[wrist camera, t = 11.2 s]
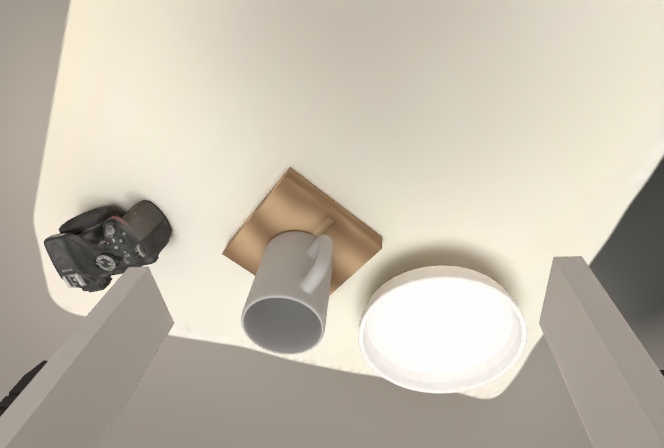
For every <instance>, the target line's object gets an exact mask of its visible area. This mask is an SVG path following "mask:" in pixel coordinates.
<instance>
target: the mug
mask: <svg viewBox="0 0 664 448" xmlns="http://www.w3.org/2000/svg"><path fill="white" fill-rule="evenodd" d="M332 254H333V241H332V239H331V238H330V237H329V236H327V235H321V236H319V237H318V238H317V237H316V236H314V235H311V234H309V233H305V232H300V231H291V232H285V233H282V234H280V235H277V236H276V237H274V238H273V239H272V240H271V241H270V242H269V243H268V244H267V246H266V248H265V250H264V253H263V255H262V259H261V262H260V265H259V268H258V271H257V273H256V276H255V279H254V282H253V284H252V287H251V290H250V292H249V295H248V298H247V301H246V303H245V306H244V309H243V312H242V317H241V322H242V327H243V330H244V332H245V333H246V335H247V336H248V337H249V339H250V340H251V341H253V342H254V343H255V344H256V345H258V346H259V347H261V348H263V349H265V350H268V351H271V352H274V353H279V354H298V353H302V352H305V351H308V350H310V349H312V348H313V347H315V346H316V345H317V344H318V343H319V342H320V340H321V339H322V337H323V334H324V331H325V325H326V316H327V308H328V299H329V291H330V282H331V275H332V269H333V258H332Z"/></svg>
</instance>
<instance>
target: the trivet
mask: <svg viewBox="0 0 664 448" xmlns="http://www.w3.org/2000/svg"><path fill="white" fill-rule="evenodd" d="M291 231H300V232H305V233H309V234H311V235H314V236H316V237H317V238H318V237H319V236H321V235H327V236H329V237H330V238H331V239H332V241H333V254H332V258H333V269H332V275H331V282H330V291H329V295H330V294H332V293H333V292H334V291H335V290H336V289H337V288H338V287H339V286H341V285H342V284H343V283H344V282H345V281H346V280H347V279H348V278H349V277H351V276H352V275H353V274H354V273H355V272H356V271H357V270H358V269H360V268H361V267H362V266H363V265H364V264H365V263H366V262H367V261H369V260H370V259H371V258H372V257H373V256H374V255H375V254H376V253H377V252H379V251H380V250H381V249H382V237H381V236H380V235H379V234H377V233H376V232H375V231H374V230H372V229H371V228H370V227H368V226H367V225H366V224H364V223H363V222H362V221H360V220H359V219H358V218H356V217H355V216H354V215H352V214H351V213H350V212H348V211H347V210H346V209H344V208H343V207H342V206H341V205H339V204H338V203H337V202H335V201H334V200H333V199H331V198H330V197H329V196H327V195H326V194H325V193H323V192H322V191H321V190H319V189H318V188H317V187H315V186H314V185H313V184H312V183H310V182H309V181H308V180H306V179H305V178H304V177H302V176H301V175H300V174H298V173H297V172H296V171H294V170H293V169H292V168H289V169H288V171H287V172H286V173H285V174H284V175H283V177H282V178H281V179H280V180H279V182H278V183H277V184H276V185H275V186H274V188H273V189H272V190H271V191H270V193H269V194H268V195H267V196H266V197H265V199H264V200H263V201H262V202H261V204H260V205H259V206H258V207H257V208H256V210H255V211H254V212H253V213H252V215H251V216H250V217H249V218H248V219H247V221H246V222H245V223H244V224H243V226H242V227H241V228H240V229H239V230H238V232H237V233H236V234H235V235H234V237H233V238H232V239H231V240H230V241H229V243H228V244H227V246H226V248H225V250H224V251H223V253H222V254H223V255H225V256H226V257H228V258H229V259H231V260H232V261H234V262H235V263H237V264H238V265H240V266H241V267H243V268H244V269H246V270H247V271H249V272H251V273H252V274H254V275H255V276H256V273H257V271H258V268H259V265H260V262H261V259H262V255H263V253H264V250H265V248H266V246H267V244H268V243H269V242H270V241H271V240H272V239H273V238H274V237H276V236H277V235H280V234H282V233H285V232H291Z"/></svg>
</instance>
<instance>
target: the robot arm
mask: <svg viewBox="0 0 664 448" xmlns="http://www.w3.org/2000/svg"><path fill="white" fill-rule="evenodd" d="M173 324H174V322H173V320H172V317H171V315H170V313H169V311H168V309H167V306H166V304H165V302H164V300H163V298H162V295H161V293H160V291H159V289H158V287H157V284H156V282H155V280H154V278H153V276H152V274H151V271H150V269H149V267H128V268H127V270H126V271H125V272H124V273H123V274H122V275H121V277H120V278H119V279H118V280H117V281H116V282H115V284H114V285H113V286H112V287H111V288H110V289H109V291H108V292H107V293H106V294H105V295H104V296H103V298H102V299H101V300H100V301H99V302H98V303H97V305H96V306H95V307H94V308H93V309H92V310H91V312H90V313H89V314H88V315H87V316H86V318H85V319H84V320H83V321H82V322H81V323H80V325H79V326H78V327H77V328H76V329H75V330H74V332H73V333H72V334H71V335H70V336H69V337H68V339H67V340H66V341H65V342H64V343H63V344H62V345H61V347H60V348H59V349H58V350H57V351H56V353H55V354H54V355H53V356H52V357H51V358H50V359H49V361H43V362H41V363H40V364H39V365H37V366H36V367H35V368H34V369H32V370H31V371H30V372H28V373H27V374H26V375H24V376H23V377H22V379H21V380H20V381H19V382H18V383H17V384H16V385H15V387H14V388H13V389H12V390H11V391H10V392H9V396H6V397H5V398H4V399H3V400H2V401H1V402H0V448H100V447H101V446H102V444H103V442H104V440H105V439H106V437H107V436H108V434H109V432H110V431H111V429H112V427H113V425H114V424H115V422H116V420H117V419H118V417H119V415H120V414H121V412H122V410H123V409H124V407H125V405H126V404H127V402H128V400H129V398H130V397H131V395H132V393H133V392H134V390H135V388H136V387H137V385H138V383H139V382H140V380H141V378H142V377H143V375H144V373H145V372H146V370H147V368H148V367H149V365H150V363H151V361H152V360H153V358H154V356H155V355H156V353H157V351H158V350H159V348H160V346H161V345H162V343H163V341H164V340H165V338H166V336H167V335H168V333H169V331H170V329H171V328H172V326H173ZM539 324H540V326H541V329H542V331H543V333H544V336H545V338H546V340H547V343H548V345H549V347H550V349H551V352H552V354H553V356H554V359H555V361H556V363H557V366H558V368H559V370H560V373H561V375H562V377H563V380H564V382H565V384H566V386H567V389H568V391H569V393H570V396H571V398H572V400H573V402H574V405H575V407H576V409H577V412H578V414H579V416H580V419H581V421H582V423H583V426H584V428H585V430H586V433H587V435H588V437H589V440H590V442H591V444H592V447H593V448H664V370H659V369H658V368H657V366H656V365H655V363H654V362H653V360H652V359H651V357H650V356H649V354H648V353H647V351H646V350H645V349H644V347H643V346H642V344H641V343H640V341H639V340H638V338H637V337H636V336H635V334H634V332H633V331H632V329H631V328H630V327H629V325H628V324H627V322H626V321H625V319H624V318H623V316H622V315H621V313H620V312H619V310H618V309H617V307H616V306H615V305H614V303H613V302H612V300H611V299H610V297H609V296H608V294H607V293H606V291H605V290H604V288H603V287H602V285H601V284H600V282H599V281H598V280H597V278H596V277H595V275H594V274H593V272H592V271H591V270H590V268H589V266H588V265H587V263H586V262H585V260H584V259H583V258H582V256H575V257H554V258H553V262H552V267H551V271H550V276H549V280H548V285H547V290H546V294H545V299H544V303H543V308H542V312H541V317H540V321H539Z"/></svg>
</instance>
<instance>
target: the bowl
mask: <svg viewBox="0 0 664 448" xmlns="http://www.w3.org/2000/svg"><path fill="white" fill-rule="evenodd" d="M358 341H359V346H360V350H361V352H362V354H363V356H364V358H365V360H366V362H367V363H368V364H369V365H370V366H371V367H372V369H373V370H374V371H376V372H377V373H378V374H379V375H381V376H382V377H383V378H385V379H387V380H389V381H391V382H392V383H394V384H396V385H399V386H402V387H404V388H407V389H411V390H415V391H420V392H429V393H454V392H460V391H467V390H470V389H474V388H477V387H480V386H483V385H485V384H487V383H489V382H492V381H494V380H495V379H497V378H498V377H500V376H501V375H503V374H505V373H506V372H507V371H508V370H509V369H510V368H511V367H512V366H513V365H514V364H515V363H516V362H517V360H518V359H519V357H520V356H521V354H522V353H523V350H524V347H525V345H526V342H527V326H526V321H525V318H524V316H523V314H522V312H521V310H520V309H519V307H518V305H517V303H516V301H515V300H514V299H513V298H512V296H511V295H510V294H509V293H508V292H507V291H506V290H505V289H504V288H503V287H502V286H501V285H500V284H499V283H497V282H496V281H495V280H493V279H492V278H490V277H489V276H487V275H484V274H482V273H479V272H477V271H475V270H471V269H467V268H462V267H458V266H444V265H439V266H428V267H422V268H418V269H414V270H409V271H407V272H405V273H402V274H400V275H397V276H395V277H393V278H392V279H390V280H389V281H387V282H386V283H384V284H383V285H382V286H381V287H380V288H379V289H378V290H376V291H375V292H374V293H373V295H372V296H371V298H370V299H369V301H368V302H367V304H366V306H365V309H364V311H363V314H362V317H361V320H360V324H359V335H358Z"/></svg>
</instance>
